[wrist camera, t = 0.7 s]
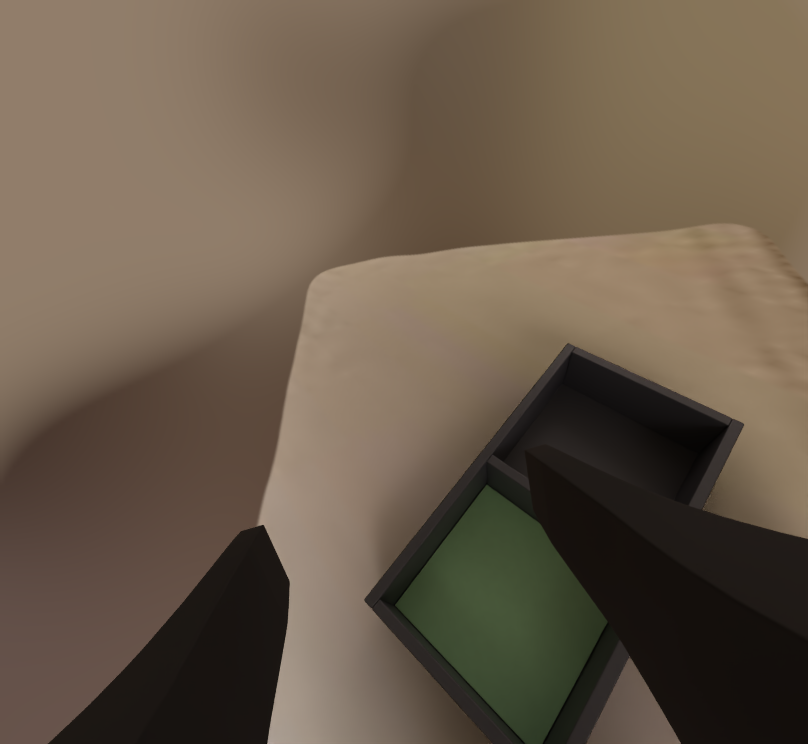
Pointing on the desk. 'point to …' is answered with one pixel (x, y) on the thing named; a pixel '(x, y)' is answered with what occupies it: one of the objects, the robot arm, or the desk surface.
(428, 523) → the organizer
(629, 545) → the robot arm
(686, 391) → the desk surface
